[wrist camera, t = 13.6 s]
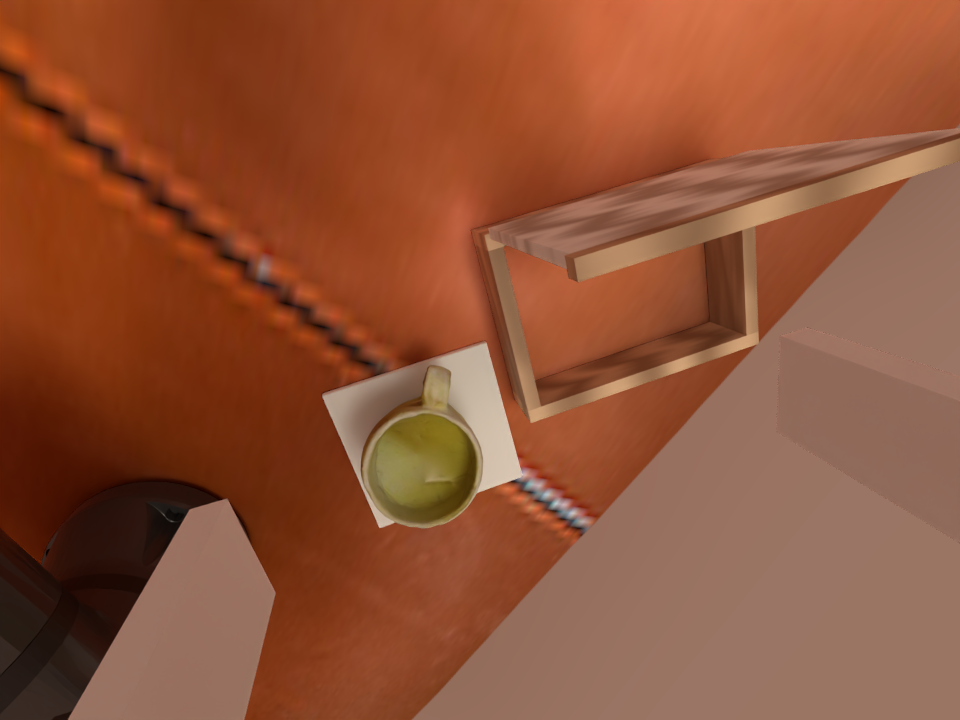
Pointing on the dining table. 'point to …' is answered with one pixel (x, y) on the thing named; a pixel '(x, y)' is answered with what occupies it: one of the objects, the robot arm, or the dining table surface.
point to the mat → (468, 395)
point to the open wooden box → (677, 225)
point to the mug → (423, 458)
